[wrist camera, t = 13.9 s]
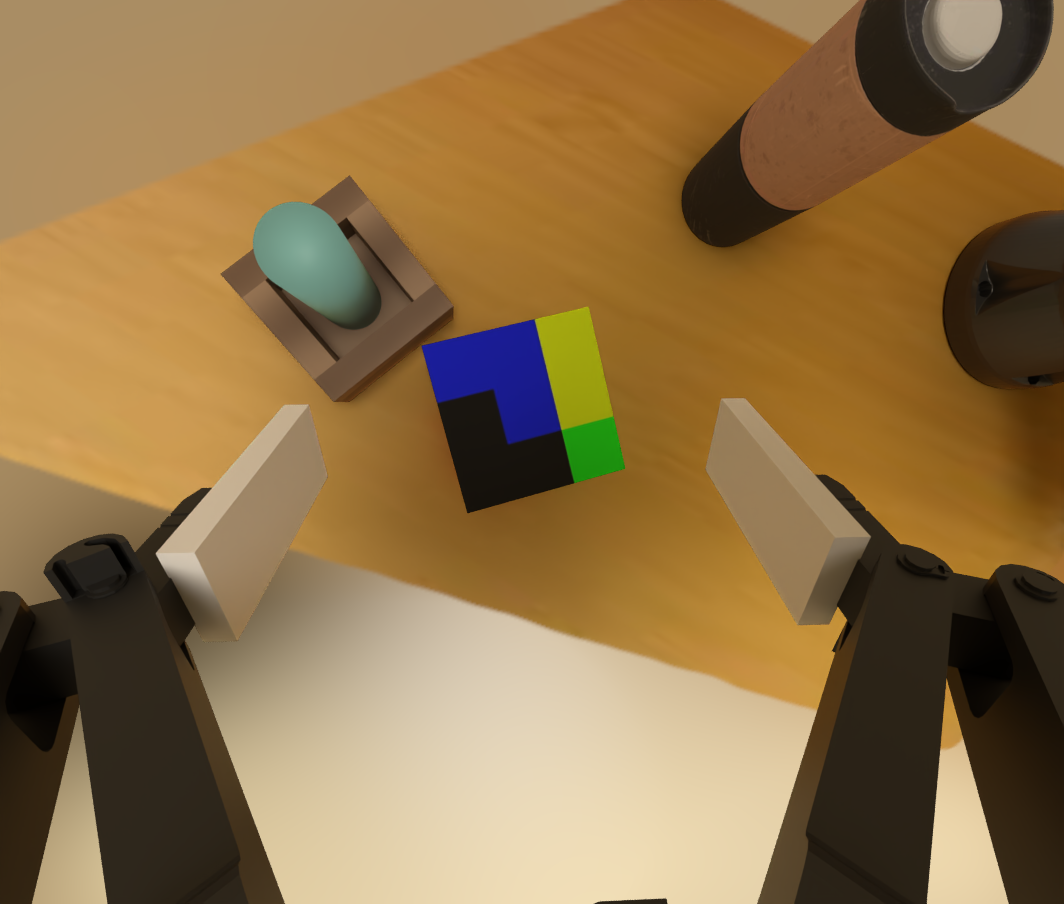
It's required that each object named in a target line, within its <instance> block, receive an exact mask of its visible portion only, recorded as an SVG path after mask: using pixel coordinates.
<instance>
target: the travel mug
mask: <svg viewBox="0 0 1064 904" xmlns="http://www.w3.org/2000/svg"><path fill="white" fill-rule="evenodd" d="M1053 8H1054V7H1053V0H860V1H859V2H857V4H855V5H854V6H853V7H852V8H851V9H850V10H849V11H848V12H847V13H846V14H845V15H844V16H843V17H842V18H841V19H840V20H839V21H838V22H837V23H836V24H835V25H834V26H833V27H832V28H831V29H830V30H829V31H828V32H826V34H825V35H823V37H821V38H820V39H819V40H818V41H817V42H816V43H815V44H814V45H813V46H812V47H811V48H810V49H809V50H808V51H807V52H806V53H805V54H804V55H803V56H802V57H801V58H800V59H799V60H798V61H797V62H796V63H794V64H793V65H792V66H791V67H790V68H789V69H788V70H787V71H786V72H785V73H784V74H783V75H782V76H781V77H780V78H779V79H778V80H777V81H776V82H775V83H774V84H773V85H772V86H771V87H770V88H769V89H768V90H767V91H766V92H765V93H764V94H762V95H761V96H760V97H759V98H758V100H757V101H756V102H755V103H754V104H753V105H752V106H751V107H750V108H749V109H748V110H747V111H746V112H745V113H744V114H743V115H742V116H741V117H740V119H739V120H738V121H737V122H736V123H735V124H734V125H733V126H732V127H731V128H730V129H729V130H728V131H727V132H726V133H725V135H724V136H723V137H722V138H721V139H720V140H719V141H718V142H717V143H716V144H715V145H714V146H713V147H712V148H711V149H710V151H709V152H708V153H707V154H706V155H705V156H704V157H703V158H702V159H701V160H700V161H699V163H698V164H697V165H696V166H695V167H694V168H693V170H692V171H691V172H690V174H689V175H688V177H687V180H686V182H685V185H684V188H683V193H682V208H683V213H684V217H685V219H686V222H687V224H688V226H689V227H690V229H691V230H692V231H693V233H694V234H695V235H696V236H697V237H698V238H700V239H701V240H702V241H704V242H706V243H708V244H710V245H714V246H720V247H725V246H733V245H736V244H738V243H741V242H743V241H745V240H747V239H749V238H751V237H753V236H755V235H757V234H760V233H762V232H764V231H766V230H768V229H770V228H772V227H774V226H776V225H778V224H780V223H782V222H784V221H786V220H788V219H790V218H792V217H794V216H796V215H798V214H800V213H802V212H804V211H806V210H808V209H810V208H812V207H814V206H816V205H818V204H820V203H822V202H824V201H825V200H827V199H829V198H831V197H833V196H834V195H836V194H838V193H840V192H842V191H843V190H845V189H847V188H849V187H851V186H852V185H854V184H856V183H858V182H860V181H861V180H863V179H865V178H867V177H868V176H870V175H872V174H874V173H876V172H877V171H879V170H881V169H883V168H885V167H886V166H888V165H890V164H892V163H894V162H895V161H897V160H899V159H901V158H903V157H904V156H906V155H908V154H910V153H912V152H913V151H915V150H917V149H919V148H921V147H922V146H924V145H926V144H928V143H930V142H931V141H933V140H935V139H937V138H938V137H940V136H942V135H944V134H946V133H947V132H949V131H951V130H953V129H954V128H956V127H958V126H960V125H962V124H964V123H965V122H967V121H969V120H971V119H973V118H974V117H976V116H978V115H980V114H981V113H983V112H985V111H987V110H989V109H991V108H994V107H996V106H998V105H1000V104H1002V103H1003V102H1005V101H1006V100H1008V99H1009V98H1011V97H1012V96H1013V95H1014V94H1016V93H1017V92H1018V91H1019V90H1020V89H1021V88H1022V87H1023V86H1024V85H1025V84H1026V83H1027V82H1028V81H1029V79H1030V78H1031V77H1032V76H1033V74H1034V73H1035V71H1036V70H1037V68H1038V67H1039V65H1040V63H1041V61H1042V59H1043V57H1044V55H1045V52H1046V50H1047V47H1048V44H1049V40H1050V36H1051V32H1052V24H1053V10H1054V9H1053Z"/></svg>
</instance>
